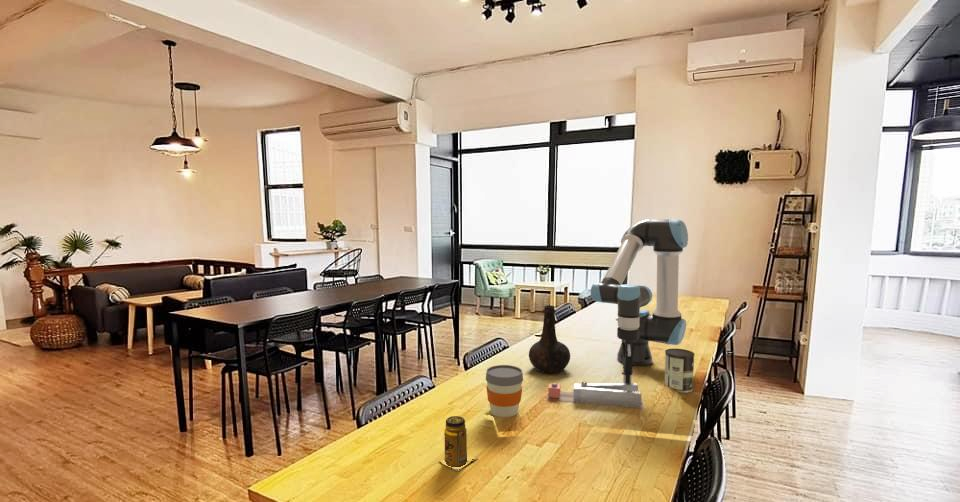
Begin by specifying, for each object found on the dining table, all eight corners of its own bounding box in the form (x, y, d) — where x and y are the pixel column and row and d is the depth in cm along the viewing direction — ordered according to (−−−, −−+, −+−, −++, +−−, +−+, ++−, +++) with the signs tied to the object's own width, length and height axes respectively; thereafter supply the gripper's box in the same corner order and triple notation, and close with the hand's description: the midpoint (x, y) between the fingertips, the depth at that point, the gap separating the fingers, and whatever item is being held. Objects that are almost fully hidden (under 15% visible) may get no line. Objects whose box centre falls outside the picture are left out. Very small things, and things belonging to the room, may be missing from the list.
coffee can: (689, 383, 178) (690, 348, 177) (696, 393, 168) (697, 357, 167) (661, 381, 180) (662, 347, 179) (667, 391, 170) (668, 355, 169)
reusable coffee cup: (526, 409, 155) (527, 366, 154) (517, 425, 144) (517, 379, 142) (492, 404, 159) (492, 363, 158) (480, 419, 148) (480, 375, 146)
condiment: (438, 462, 122) (437, 420, 121) (459, 450, 129) (458, 409, 128) (457, 472, 118) (457, 428, 117) (478, 459, 124) (478, 417, 123)
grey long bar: (573, 396, 163) (574, 383, 162) (639, 402, 158) (639, 388, 157) (573, 402, 158) (573, 388, 157) (641, 408, 153) (641, 394, 152)
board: (548, 393, 169) (548, 390, 169) (641, 401, 161) (641, 398, 161) (546, 403, 160) (546, 400, 160) (644, 412, 152) (644, 409, 152)
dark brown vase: (552, 380, 182) (552, 312, 180) (520, 369, 195) (520, 305, 193) (578, 370, 194) (579, 306, 191) (546, 360, 207) (547, 300, 205)
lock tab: (549, 392, 166) (549, 381, 165) (560, 393, 165) (560, 382, 164) (548, 397, 162) (548, 385, 161) (559, 398, 161) (559, 386, 160)
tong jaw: (580, 397, 162) (581, 381, 161) (635, 396, 162) (636, 381, 162) (582, 399, 160) (582, 383, 159) (637, 398, 160) (638, 383, 160)
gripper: (616, 322, 169) (615, 383, 171) (618, 331, 156) (617, 397, 158) (637, 323, 167) (636, 385, 169) (641, 332, 155) (639, 399, 157)
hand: (627, 391), depth 164 cm, fingers closed
